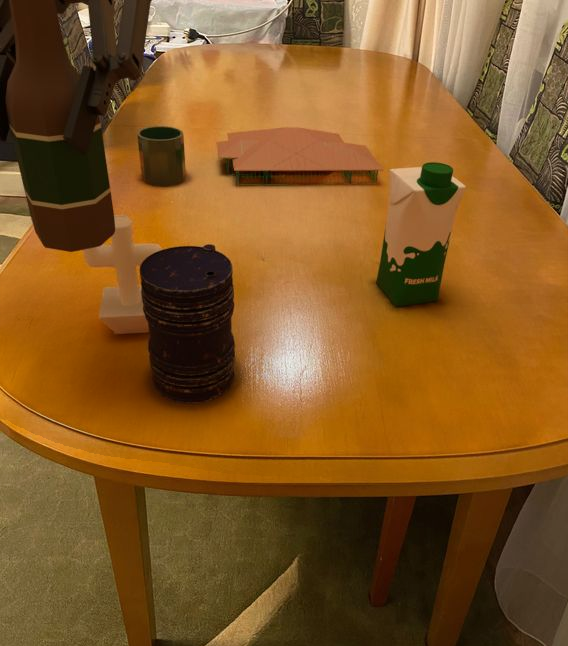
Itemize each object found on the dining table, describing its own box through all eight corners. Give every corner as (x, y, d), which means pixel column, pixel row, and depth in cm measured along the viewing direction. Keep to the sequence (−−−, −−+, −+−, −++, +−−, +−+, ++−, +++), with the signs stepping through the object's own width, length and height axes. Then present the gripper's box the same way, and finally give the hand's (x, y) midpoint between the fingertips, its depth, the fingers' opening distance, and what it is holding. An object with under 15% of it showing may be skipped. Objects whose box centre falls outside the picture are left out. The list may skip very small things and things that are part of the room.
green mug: (193, 181, 121) (191, 136, 115) (153, 189, 117) (148, 142, 111) (168, 163, 128) (164, 119, 123) (129, 170, 124) (123, 125, 118)
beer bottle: (83, 211, 65) (35, -58, 50) (133, 233, 61) (97, -49, 47) (17, 236, 60) (-57, -57, 45) (68, 261, 56) (5, -46, 42)
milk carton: (392, 311, 87) (415, 176, 75) (367, 280, 94) (385, 151, 82) (446, 304, 89) (476, 172, 77) (418, 273, 96) (442, 148, 84)
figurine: (170, 337, 79) (160, 231, 70) (94, 341, 77) (74, 234, 68) (169, 307, 84) (160, 206, 75) (99, 310, 83) (81, 207, 74)
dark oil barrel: (134, 389, 70) (114, 250, 59) (179, 343, 78) (168, 213, 67) (210, 414, 68) (203, 273, 57) (249, 364, 75) (249, 232, 64)
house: (215, 147, 138) (213, 110, 133) (355, 148, 143) (359, 112, 138) (220, 186, 120) (219, 145, 115) (381, 185, 125) (386, 145, 120)
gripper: (219, -53, 56) (159, 176, 53) (26, -70, 60) (-41, 145, 57) (193, -128, 49) (123, 133, 46) (-25, -143, 52) (-104, 100, 49)
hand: (33, 139), depth 51 cm, fingers closed on beer bottle, 7 cm apart
